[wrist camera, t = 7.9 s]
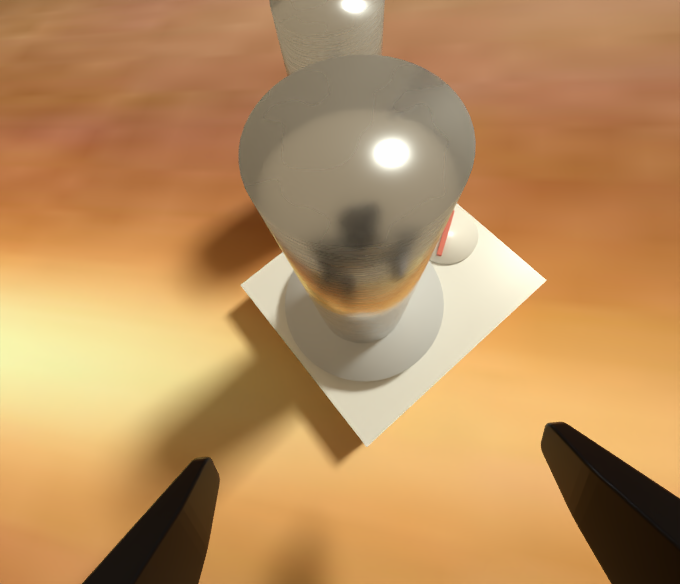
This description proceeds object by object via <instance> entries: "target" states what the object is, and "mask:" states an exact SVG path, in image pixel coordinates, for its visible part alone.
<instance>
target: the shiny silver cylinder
mask: <svg viewBox="0 0 680 584" xmlns="http://www.w3.org/2000/svg"><path fill="white" fill-rule="evenodd" d="M475 142H476V141H475V134H474V128H473V124H472V121H471V118H470V115H469V113H468V111H467V109H466V107H465V105H464V104H463V102H462V101H461V99H460V98H459V97H458V95H457V94H456V93H455V92H454V91H453V90H452V89H451V87H450V86H449V85H447V84H446V83H445V82H444V81H443V80H441V79H440V78H439V77H438V76H436V75H434V74H433V73H431V72H430V71H428V70H426V69H424V68H422V67H420V66H418V65H416V64H413V63H410V62H407V61H404V60H401V59H397V58H392V57H388V56H380V55H362V54H361V55H347V56H341V57H334V58H330V59H326V60H323V61H319V62H316V63H314V64H311V65H308V66H306V67H304V68H302V69H300V70H298V71H296V72H294V73H292V74H291V75H289V76H287V77H286V78H284V79H283V80H281V81H280V82H279V83H278V84H276V85H275V86H274V87H273V88H271V89H270V90H269V91H268V92H267V93H266V94H265V95H264V96H263V97H262V99H261V100H260V101H259V102H258V104H257V105H256V106H255V108H254V109H253V111H252V112H251V114H250V116H249V118H248V120H247V122H246V124H245V126H244V129H243V132H242V135H241V139H240V145H239V168H240V174H241V178H242V181H243V183H244V186H245V189H246V191H247V193H248V194H249V196H250V198H251V200H252V202H253V203H254V205H255V207H256V208H257V210H258V212H259V213H260V215H261V217H262V218H263V220H264V222H265V223H266V225H267V227H268V228H269V230H270V232H271V233H272V235H273V237H274V238H275V240H276V242H277V243H278V245H279V247H280V248H281V250H282V252H283V253H284V255H285V257H286V258H287V260H288V262H289V263H290V265H291V267H292V268H293V270H294V272H295V273H296V275H297V277H298V278H299V280H300V282H301V283H302V285H303V287H304V288H305V290H306V292H307V293H308V295H309V297H310V298H311V300H312V302H313V303H314V305H315V307H316V308H317V310H318V312H319V313H320V315H321V317H322V318H323V320H324V322H325V323H326V325H327V326H328V327H329V329H330V330H331V331H332V332H333V333H334V334H336V335H337V336H339V337H340V338H342V339H344V340H346V341H350V342H353V343H371V342H375V341H377V340H380V339H382V338H384V337H386V336H387V335H388V334H390V333H391V332H392V331H393V330H394V329H395V328H396V326H397V325H398V323H399V322H400V320H401V318H402V316H403V314H404V311H405V309H406V307H407V305H408V303H409V301H410V299H411V297H412V295H413V293H414V291H415V289H416V287H417V284H418V282H419V280H420V278H421V276H422V274H423V272H424V270H425V268H426V266H427V264H428V262H429V260H430V258H431V255H432V253H433V251H434V249H435V247H436V245H437V243H438V241H439V239H440V237H441V235H442V233H443V231H444V228H445V226H446V224H447V222H448V220H449V218H450V216H451V214H452V212H453V210H454V208H455V206H456V204H457V202H458V199H459V197H460V195H461V193H462V191H463V189H464V187H465V185H466V183H467V181H468V178H469V175H470V173H471V170H472V167H473V162H474V157H475Z"/></svg>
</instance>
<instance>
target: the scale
mask: <svg viewBox="0 0 680 584" xmlns="http://www.w3.org/2000/svg"><path fill="white" fill-rule="evenodd" d="M545 281H546V279H544V278H543V277H542V276H541V275H540V274H539V273H537V272H536V271H535V270H534V269H533V268H532V267H530V266H529V265H528V264H527V263H526V262H525V261H523V260H522V259H521V258H520V257H519V256H518V255H516V254H515V253H514V252H513V251H512V250H511V249H509V248H508V247H507V246H506V245H505V244H504V243H502V242H501V241H500V240H499V239H498V238H497V237H495V236H494V235H493V234H492V233H491V232H490V231H488V230H487V229H486V228H485V227H484V226H483V225H481V224H480V223H479V222H478V221H477V220H476V219H474V218H473V217H472V216H471V215H470V214H469V213H467V212H466V211H465V210H464V209H463V208H462V207H460V206H459V205H458V204H456V206H455V208H454V210H453V212H452V214H451V216H450V218H449V220H448V222H447V224H446V226H445V228H444V231H443V233H442V235H441V237H440V239H439V241H438V243H437V245H436V247H435V249H434V251H433V253H432V255H431V258H430V260H429V262H428V264H427V266H426V268H425V270H424V272H423V274H422V276H421V278H420V280H419V282H418V284H417V287H416V289H415V291H414V293H413V295H412V297H411V299H410V301H409V303H408V305H407V307H406V309H405V311H404V314H403V316H402V318H401V320H400V322H399V323H398V325H397V326H396V328H395V329H394V330H393V331H392V332H391V333H390V334H388V335H387V336H386V337H384V338H382V339H380V340H377V341H375V342H371V343H353V342H350V341H346V340H344V339H342V338H340V337H339V336H337V335H336V334H334V333H333V332H332V331H331V330H330V329H329V327H328V326H327V325H326V323H325V322H324V320H323V318H322V317H321V315H320V313H319V312H318V310H317V308H316V307H315V305H314V303H313V302H312V300H311V298H310V297H309V295H308V293H307V292H306V290H305V288H304V287H303V285H302V283H301V282H300V280H299V278H298V277H297V275H296V273H295V272H294V270H293V268H292V267H291V265H290V263H289V262H288V260H287V258H286V257H285V255H284V253H283V252H282V253H281V254H280V255H278V256H277V257H276V258H274V259H273V260H272V261H271V262H269V263H268V264H267V265H265V266H264V267H263V268H262V269H260V270H259V271H258V272H256V273H255V274H254V275H253V276H251V277H250V278H249V279H247V280H246V281H245V282H244V283H242V284H241V286H242V288H243V289H244V290H245V292H246V293H247V294H248V295H249V297H250V298H251V299H252V301H253V302H254V303H255V304H256V306H257V307H258V308H259V310H260V311H261V312H262V313H263V315H264V316H265V317H266V319H267V320H268V321H269V322H270V324H271V325H272V326H273V328H274V329H275V330H276V331H277V333H278V334H279V335H280V337H281V338H282V339H283V340H284V342H285V343H286V344H287V346H288V347H289V348H290V349H291V351H292V352H293V353H294V354H295V356H296V357H297V358H298V360H299V361H300V362H301V363H302V365H303V366H304V367H305V369H306V370H307V371H308V372H309V374H310V375H311V376H312V378H313V379H314V380H315V381H316V383H317V384H318V385H319V387H320V388H321V389H322V390H323V392H324V393H325V394H326V396H327V397H328V398H329V399H330V401H331V402H332V403H333V405H334V406H335V407H336V408H337V410H338V411H339V412H340V414H341V415H342V416H343V417H344V419H345V420H346V421H347V423H348V424H349V425H350V426H351V428H352V429H353V430H354V431H355V433H356V434H357V435H358V437H359V438H360V439H361V440H362V442H363V443H364V444H365V446H366V447H367V446H369V445H370V444H371V443H372V442H373V441H374V440H375V439H376V438H377V437H378V436H379V435H380V434H381V433H383V432H384V431H385V430H386V429H387V428H388V427H389V426H390V425H391V424H392V423H393V422H394V421H395V420H397V419H398V418H399V417H400V416H401V415H402V414H403V413H404V412H405V411H406V410H407V409H408V408H409V407H411V406H412V405H413V404H414V403H415V402H416V401H417V400H418V399H419V398H420V397H421V396H422V395H423V394H425V393H426V392H427V391H428V390H429V389H430V388H431V387H432V386H433V385H434V384H435V383H436V382H437V381H439V380H440V379H441V378H442V377H443V376H444V375H445V374H446V373H447V372H448V371H449V370H450V369H451V368H453V367H454V366H455V365H456V364H457V363H458V362H459V361H460V360H461V359H462V358H463V357H464V356H465V355H467V354H468V353H469V352H470V351H471V350H472V349H473V348H474V347H475V346H476V345H477V344H478V343H479V342H481V341H482V340H483V339H484V338H485V337H486V336H487V335H488V334H489V333H490V332H491V331H492V330H493V329H495V328H496V327H497V326H498V325H499V324H500V323H501V322H502V321H503V320H504V319H505V318H506V317H507V316H509V315H510V314H511V313H512V312H513V311H514V310H515V309H516V308H517V307H518V306H519V305H520V304H521V303H523V302H524V301H525V300H526V299H527V298H528V297H529V296H530V295H531V294H532V293H533V292H534V291H535V290H537V289H538V288H539V287H540V286H541V285H542V284H543V283H544V282H545Z"/></svg>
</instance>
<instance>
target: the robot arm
mask: <svg viewBox="0 0 680 584" xmlns="http://www.w3.org/2000/svg"><path fill="white" fill-rule="evenodd" d="M541 449H542V452H543V455H544V457H545V459H546V461H547V463H548V465H549V468H550V470H551V472H552V474H553V476H554V478H555V480H556V483H557V485H558V487H559V489H560V491H561V493H562V495H563V498H564V500H565V502H566V504H567V506H568V508H569V510H570V512H571V514H572V516H573V518H574V520H575V522H576V523H577V525H578V527H579V529H580V531H581V532H582V534H583V536H584V537H585V539H586V541H587V543H588V544H589V546H590V548H591V549H592V551H593V553H594V555H595V556H596V558H597V560H598V562H599V563H600V565H601V567H602V568H603V570H604V572H605V574H606V575H607V577H608V579H609V580H610V582H611V584H680V498H678V497H677V496H675V495H674V494H672V493H671V492H669V491H668V490H666V489H665V488H663V487H662V486H660V485H659V484H657V483H656V482H654V481H653V480H651V479H650V478H648V477H647V476H645V475H644V474H642V473H641V472H639V471H637V470H636V469H634V468H633V467H631V466H630V465H628V464H627V463H625V462H624V461H622V460H621V459H619V458H618V457H616V456H615V455H613V454H612V453H610V452H609V451H607V450H606V449H604V448H603V447H601V446H600V445H598V444H597V443H595V442H594V441H592V440H591V439H589V438H588V437H586V436H585V435H583V434H582V433H580V432H579V431H577V430H576V429H574V428H573V427H571V426H570V425H568V424H566V423H564V422H553V423H547V424H546V425H545V429H544V433H543V437H542V441H541ZM219 482H220V479H219V474H218V472H217V470H216V468H215V466H214V463H213V461H212V459H211V458H209V457H202V458H196V459H194V460H193V461H191V462H190V464H189V465H188V466H187V467H186V468H185V469H184V470H183V471H182V472H181V474H180V475H179V476H178V477H177V478H176V479H175V480H174V481H173V483H172V484H171V485H170V486H169V487H168V488H167V489H166V490H165V491H164V493H163V494H162V495H161V496H160V497H159V498H158V499H157V500H156V502H155V503H154V504H153V505H152V506H151V507H150V508H149V509H148V510H147V512H146V513H145V514H144V515H143V516H142V517H141V518H140V519H139V521H138V522H137V523H136V524H135V525H134V526H133V527H132V528H131V529H130V531H129V532H128V533H127V534H126V535H125V536H124V537H123V538H122V540H121V541H120V542H119V543H118V544H117V545H116V546H115V547H114V548H113V550H112V551H111V552H110V553H109V554H108V555H107V556H106V557H105V558H104V560H103V561H102V562H101V563H100V564H99V565H98V566H97V567H96V569H95V570H94V571H93V572H92V573H91V574H90V575H89V576H88V577H87V579H86V580H85V581H84V582H83V583H82V584H198V583H199V579H200V575H201V572H202V568H203V564H204V561H205V557H206V553H207V549H208V544H209V539H210V534H211V528H212V523H213V517H214V511H215V506H216V500H217V495H218V489H219Z"/></svg>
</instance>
